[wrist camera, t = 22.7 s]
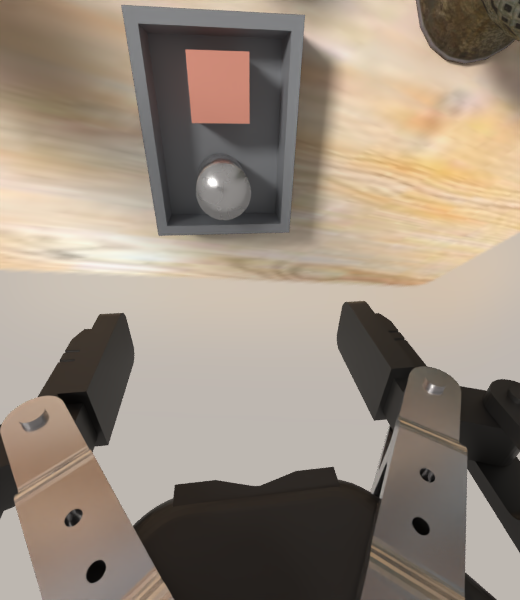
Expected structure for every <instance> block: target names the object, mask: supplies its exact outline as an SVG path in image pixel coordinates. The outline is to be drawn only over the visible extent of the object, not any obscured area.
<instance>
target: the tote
mask: <svg viewBox="0 0 520 600" xmlns="http://www.w3.org/2000/svg"><path fill="white" fill-rule="evenodd" d="M121 6H122V12H123V18H124V24H125V30H126V37H127V43H128V49H129V55H130V61H131V68H132V74H133V80H134V86H135V92H136V98H137V105H138V111H139V117H140V123H141V129H142V136H143V142H144V148H145V154H146V160H147V166H148V173H149V179H150V185H151V191H152V197H153V204H154V210H155V216H156V222H157V228H158V234H159V236H163V235H203V234H243V233H283V232H289V229H290V215H291V201H292V187H293V173H294V159H295V146H296V132H297V118H298V104H299V90H300V76H301V62H302V48H303V35H304V21H305V15H295V14H277V13H259V12H240V11H222V10H204V9H186V8H167V7H149V6H131V5H121ZM185 49H188V50H217V51H246V52H249V102H250V124H234V123H192V119H191V108H190V96H189V85H188V74H187V63H186V52H185ZM215 153H225V154H228V155H230V156H232V157H233V158H235V159H236V160H237V161H238V162H239V164H240V166H241V167H242V169H243V171H244V173H245V175H246V177H247V179H248V181H249V183H250V187H251V199H250V202H249V205H248V207H247V208H246V210H245V211H244V212H243V213H242V214H241V215H239V216H238V217H236V218H234V219H230V220H218V219H215V218H212V217H211V216H209V215H208V214H206V213H205V212H204V211H203V210H202V208H201V207H200V205H199V203H198V201H197V197H196V184H197V177H198V171H199V167H200V165H201V163H202V162H203V161H204V159H205V158H207V157H208V156H210V155H212V154H215Z"/></svg>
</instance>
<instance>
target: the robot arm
mask: <svg viewBox="0 0 520 600" xmlns="http://www.w3.org/2000/svg"><path fill="white" fill-rule="evenodd" d="M337 345H338V349H339V351H340V353H341V355H342V357H343V359H344V361H345V363H346V365H347V367H348V369H349V371H350V373H351V375H352V377H353V379H354V381H355V383H356V385H357V387H358V389H359V391H360V393H361V395H362V397H363V399H364V401H365V403H366V405H367V407H368V409H369V411H370V413H371V415H372V417H373V419H374V420H384V419H387V421H388V423H389V424H390V426H389V429H388V432H387V435H386V439H385V443H384V446H383V451H382V454H381V458H380V461H379V465H378V469H377V473H376V476H375V480H374V483H373V486H372V489H371V492H369V491H367V490H365V489H363V488H362V487H360V486H357V485H355V484H352V483H349V482H346V481H342V480H338V479H337V476H336V473H335V470H334V467H328V468H320V469H311V470H302V471H295V472H293V473H290V474H288V475H286V476H283V477H281V478H279V479H276V480H273V481H271V482H269V483H266V484H263V485H261V486H249V485H243V484H236V483H230V482H224V481H217V480H213V481H204V482H195V483H187V484H178V485H175V490H174V498H173V499H171V500H168V501H166V502H164V503H162V504H160V505H159V506H157V507H155V508H154V509H152V510H151V511H150V512H148V513H147V514H146V515H144V516H143V517H142V518H141V519H140V520H138V521H137V522H136V523H135V525H133V526H132V524H131V522H130V520H129V518H128V517H127V515H126V513H125V511H124V509H123V508H122V506H121V504H120V502H119V500H118V498H117V497H116V495H115V493H114V491H113V489H112V487H111V486H110V484H109V482H108V480H107V478H106V477H105V475H104V473H103V471H102V469H101V467H100V466H99V464H98V462H97V460H96V458H95V456H94V455H93V453H92V452H93V449H94V446H103V445H108V444H109V441H110V437H111V434H112V431H113V428H114V425H115V421H116V418H117V415H118V411H119V408H120V405H121V402H122V398H123V395H124V392H125V389H126V386H127V382H128V379H129V376H130V373H131V369H132V366H133V363H134V347H133V343H132V339H131V335H130V331H129V327H128V323H127V320H126V316H125V315H124V313H114V314H100V315H99V316H98V318H97V320H96V322H95V323H94V325H93V327H92V329H84V330H83V331H82V332H81V333H79V334H78V335H77V336H76V337H74V338H73V339H72V340H71V342H70V344H69V346H68V347H67V349H66V350H65V353H64V354H63V355H62V357H61V359H60V362H59V363H58V364H57V365H56V367H55V369H54V371H53V372H52V374H51V376H50V377H49V379H48V381H47V382H46V384H45V386H44V387H43V389H42V391H41V392H40V394H39V396H38V397H37V398H34V399H31V400H29V401H27V402H25V403H23V404H21V405H20V406H18V407H17V408H15V409H14V410H13V411H12V412H11V413H10V414H9V415H8V416H7V417H6V418H5V420H4V421H3V423H2V424H1V425H0V518H1V516H2V513H3V511H4V510H7V509H9V508H12V507H14V506H16V510H17V513H18V517H19V520H20V524H21V527H22V530H23V534H24V537H25V541H26V544H27V548H28V551H29V554H30V558H31V561H32V565H33V568H34V572H35V575H36V578H37V582H38V585H39V589H40V592H41V596H42V599H43V600H496V599H495V598H494V597H493V596H492V595H491V594H490V593H488V592H487V591H486V590H485V589H484V588H483V587H481V586H480V585H479V584H478V583H477V582H476V581H474V580H473V579H472V578H471V577H470V576H469V575H468V574H466V573H465V544H466V498H467V496H466V495H467V469H468V470H469V472H470V474H471V475H472V477H473V478H474V480H475V482H476V483H477V485H478V486H479V488H480V490H481V491H482V493H483V494H484V496H485V498H486V499H487V501H488V502H489V504H490V506H491V507H492V509H493V510H494V512H495V514H496V515H497V517H498V518H499V520H500V522H501V523H502V525H503V526H504V528H505V529H506V531H507V533H508V535H509V536H510V538H511V539H512V541H513V543H514V544H515V546H516V547H517V549H518V550H519V552H520V461H519V460H518V458H517V457H516V456H517V455H518V453H519V452H520V383H518V382H515V381H511V380H505V379H504V380H503V379H501V380H496V381H494V382H492V383H491V385H490V386H489V388H488V390H487V391H485V390H479V389H473V388H467V387H461V386H459V384H458V383H457V382H456V381H455V380H454V379H453V378H452V377H451V376H450V375H448V374H447V373H445V372H443V371H441V370H438V369H436V368H432V367H427V366H426V365H425V363H424V362H423V361H422V360H421V358H420V357H419V356H418V355H417V353H416V352H415V351H414V350H413V348H412V347H411V346H410V345H409V344H408V342H407V341H406V340H404V337H403V336H402V334H401V333H400V332H398V329H397V328H396V327H395V326H394V325H393V323H392V322H391V321H390V320H388V319H387V318H385V317H384V316H382V315H381V314H379V313H378V314H377V313H376V314H375V313H374V312H373V310H372V309H371V308H370V306H369V305H368V304H367V303H366V302H365V301H358V302H345V303H344V304H343V306H342V311H341V316H340V321H339V327H338V332H337Z"/></svg>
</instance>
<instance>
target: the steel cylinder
mask: <svg viewBox="0 0 520 600" xmlns="http://www.w3.org/2000/svg"><path fill="white" fill-rule="evenodd" d="M196 197H197V201H198V203H199V205H200V207H201V208H202V210H203V211H204V212H205V213H206V214H208V215H209V216H211V217H212V218H215V219H218V220H230V219H234V218H236V217H238V216H239V215H241V214H242V213H243V212H244V211H245V210H246V208H247V207H248V205H249V202H250V199H251V187H250V183H249V181H248V179H247V177H246V175H245V173H244V171H243V169H242V167H241V166H240V164H239V162H238V161H237V160H236V159H235V158H233V157H232V156H230V155H228V154H225V153H215V154H212V155H210V156H208V157H207V158H205V159H204V161H203V162H202V163H201V165H200V167H199V171H198V177H197V184H196Z"/></svg>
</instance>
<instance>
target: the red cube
mask: <svg viewBox="0 0 520 600" xmlns="http://www.w3.org/2000/svg"><path fill="white" fill-rule="evenodd" d="M185 52H186V63H187V74H188V85H189V96H190V108H191V119H192V123H234V124H250V102H249V52H246V51H217V50H188V49H185Z"/></svg>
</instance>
